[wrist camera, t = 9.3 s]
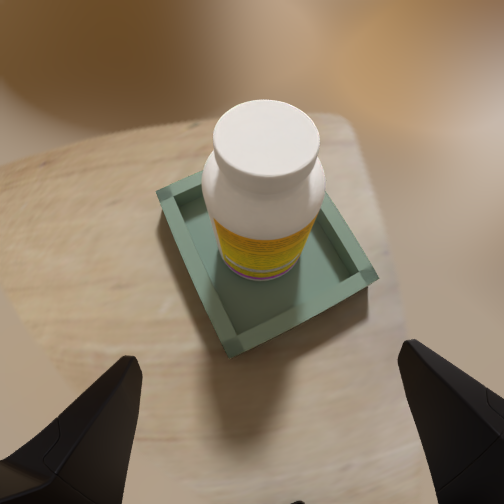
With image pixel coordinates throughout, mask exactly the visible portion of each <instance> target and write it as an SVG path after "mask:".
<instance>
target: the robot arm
mask: <svg viewBox="0 0 504 504" xmlns="http://www.w3.org/2000/svg"><path fill="white" fill-rule="evenodd" d="M398 366H399V370H400V374H401V378H402V382H403V386H404V390H405V394H406V398H407V401H408V404H409V407H410V410H411V413H412V415H413V418H414V421H415V424H416V427H417V430H418V433H419V436H420V439H421V443H422V446H423V449H424V452H425V456H426V459H427V462H428V466H429V469H430V473H431V476H432V480H433V483H434V487H435V491H436V496H437V500H438V504H504V399H503V398H502V397H500V396H499V395H497V394H496V393H494V392H493V391H491V390H490V389H488V388H486V387H485V386H484V385H482V384H481V383H480V382H478V381H477V380H475V379H474V378H472V377H471V376H469V375H468V374H466V373H465V372H463V371H462V370H460V369H459V368H458V367H456V366H454V365H453V364H452V363H450V362H449V361H447V360H446V359H444V358H443V357H441V356H440V355H438V354H437V353H435V352H434V351H432V350H431V349H429V348H428V347H426V346H425V345H423V344H422V343H420V342H419V341H417V340H415V339H411V340H406V341H404V343H403V345H402V348H401V350H400V353H399V356H398ZM142 378H143V376H142V371H141V369H140V366H139V364H138V361H137V359H136V357H135V356H126V355H125V356H122V357H121V358H120V359H119V360H118V361H117V362H116V363H115V364H114V365H112V366H111V367H110V368H109V369H108V370H107V371H106V372H105V373H104V374H103V375H102V376H101V377H99V378H98V379H97V380H96V381H95V382H94V383H93V384H92V385H91V386H90V387H89V388H88V389H87V390H85V391H84V392H83V393H82V394H81V395H80V396H79V397H78V398H77V399H76V400H75V401H74V402H73V403H72V404H70V405H69V406H68V407H67V408H66V409H65V410H64V411H63V412H62V413H61V414H60V415H59V416H58V418H55V419H54V420H53V421H52V422H51V423H50V424H49V425H48V426H47V427H46V428H44V429H43V430H42V431H41V432H40V433H39V434H37V435H36V436H35V437H34V438H32V439H31V440H30V441H29V442H27V443H26V444H25V445H23V446H22V447H21V448H19V449H18V450H16V451H15V452H14V453H13V454H11V455H10V456H8V457H7V458H5V459H3V460H0V504H122V498H123V493H124V487H125V481H126V475H127V470H128V464H129V459H130V454H131V449H132V444H133V439H134V435H135V430H136V425H137V420H138V414H139V405H140V396H141V387H142ZM291 504H305V503H304V502H303V501H296V502H294V503H291Z"/></svg>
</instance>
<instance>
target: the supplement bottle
mask: <svg viewBox="0 0 504 504" xmlns="http://www.w3.org/2000/svg"><path fill="white" fill-rule="evenodd" d="M213 146H214V150H213V151H212V153H211V154H210V155H209V157H208V159H207V161H206V163H205V166H204V169H203V173H202V193H203V197H204V200H205V204H206V207H207V210H208V214H209V217H210V221H211V224H212V228H213V231H214V235H215V238H216V242H217V245H218V249H219V252H220V254H221V257H222V259H223V261H224V262H225V264H226V265H227V266H228V267H229V268H230V269H231V270H232V271H233V272H234V273H236V274H237V275H239V276H241V277H243V278H245V279H249V280H253V281H269V280H273V279H276V278H278V277H280V276H282V275H284V274H285V273H287V272H288V271H289V270H290V269H291V268H292V267H293V266H294V265H295V264H296V262H297V260H298V259H299V257H300V255H301V253H302V250H303V248H304V246H305V243H306V241H307V238H308V236H309V234H310V231H311V229H312V226H313V224H314V222H315V219H316V217H317V215H318V213H319V210H320V208H321V205H322V202H323V200H324V196H325V190H326V179H325V174H324V170H323V167H322V164H321V162H320V160H319V158H318V157H317V156H318V152H319V147H320V137H319V133H318V130H317V127H316V126H315V124H314V123H313V121H312V120H311V119H310V118H309V117H308V116H307V115H306V114H305V113H304V112H302V111H301V110H299V109H298V108H296V107H294V106H292V105H289V104H287V103H284V102H280V101H274V100H254V101H249V102H245V103H242V104H239V105H237V106H235V107H233V108H231V109H230V110H228V111H227V112H226V113H225V114H224V115H223V116H222V117H221V118H220V119H219V121H218V122H217V124H216V126H215V129H214V133H213Z"/></svg>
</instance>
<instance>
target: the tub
mask: <svg viewBox="0 0 504 504" xmlns="http://www.w3.org/2000/svg"><path fill="white" fill-rule="evenodd" d="M202 173H203V170H202V171H200V172H198V173H195V174H193V175H191V176H188V177H186V178H184V179H182V180H179V181H177V182H175V183H173V184H170V185H168V186H166V187H164V188H162V189H160V190H157V191H156V194H157V196H158V199H159V201H160V204H161V207H162V209H163V212H164V214H165V217H166V219H167V222H168V224H169V227H170V229H171V232H172V234H173V236H174V239H175V241H176V244H177V246H178V248H179V251H180V253H181V256H182V258H183V260H184V263H185V265H186V267H187V270H188V272H189V274H190V276H191V279H192V281H193V283H194V286H195V288H196V290H197V292H198V294H199V297H200V299H201V301H202V303H203V305H204V308H205V310H206V312H207V314H208V316H209V318H210V321H211V323H212V325H213V327H214V329H215V331H216V333H217V335H218V337H219V339H220V342H221V344H222V346H223V348H224V350H225V352H226V354H227V356H228V358H229V359H230V358H233V357H235V356H237V355H240V354H242V353H244V352H246V351H248V350H250V349H252V348H254V347H256V346H258V345H260V344H262V343H264V342H266V341H268V340H270V339H272V338H274V337H276V336H278V335H280V334H282V333H284V332H286V331H288V330H290V329H292V328H294V327H296V326H298V325H300V324H302V323H303V322H305V321H307V320H309V319H311V318H313V317H315V316H316V315H318V314H320V313H322V312H324V311H325V310H327V309H329V308H331V307H333V306H334V305H336V304H338V303H340V302H341V301H343V300H345V299H347V298H348V297H350V296H352V295H354V294H355V293H357V292H359V291H360V290H362V289H364V288H365V287H367V286H369V285H370V284H372V283H373V282H375V281H376V280H378V279H379V277H378V275H377V273H376V272H375V270H374V268H373V266H372V265H371V263H370V261H369V260H368V258H367V256H366V254H365V253H364V251H363V249H362V248H361V246H360V244H359V243H358V241H357V240H356V238H355V236H354V235H353V233H352V231H351V230H350V228H349V227H348V225H347V223H346V222H345V220H344V219H343V217H342V216H341V214H340V212H339V211H338V209H337V208H336V206H335V205H334V203H333V202H332V200H331V199H330V197H329V196H328V194H327V193H326V191H325V196H324V200H323V202H322V205H321V208H320V210H319V213H318V215H317V217H316V219H315V222H314V224H313V226H312V229H311V231H310V234H309V236H308V238H307V241H306V243H305V246H304V248H303V250H302V253H301V255H300V257H299V259H298V260H297V262H296V264H295V265H294V266H293V267H292V268H291V269H290V270H289V271H288V272H287V273H285V274H284V275H282V276H280V277H278V278H276V279H273V280H269V281H253V280H249V279H245V278H243V277H241V276H239V275H237V274H236V273H234V272H233V271H232V270H231V269H230V268H229V267H228V266H227V265H226V264H225V262H224V261H223V259H222V257H221V254H220V252H219V249H218V245H217V242H216V238H215V235H214V231H213V228H212V224H211V221H210V217H209V214H208V210H207V207H206V204H205V200H204V197H203V193H202Z"/></svg>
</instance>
